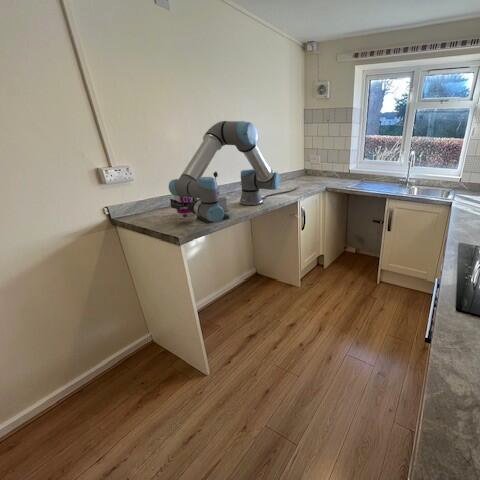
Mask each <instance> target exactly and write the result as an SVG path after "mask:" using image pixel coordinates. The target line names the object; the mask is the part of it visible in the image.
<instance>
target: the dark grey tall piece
mask: <svg viewBox="0 0 480 480" xmlns="http://www.w3.org/2000/svg"><path fill="white" fill-rule="evenodd" d="M218 177H219V174H218V172H217V171H214V172H213V178H215V180H216V181H217V178H218ZM216 185H217V192H218V197H219V196H220V188H219V187H220V186H218V182H216Z"/></svg>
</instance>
